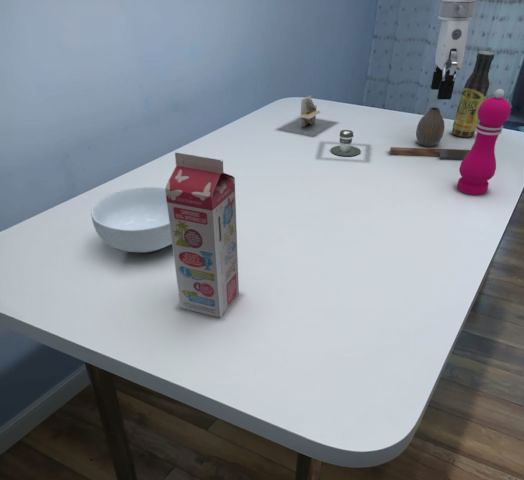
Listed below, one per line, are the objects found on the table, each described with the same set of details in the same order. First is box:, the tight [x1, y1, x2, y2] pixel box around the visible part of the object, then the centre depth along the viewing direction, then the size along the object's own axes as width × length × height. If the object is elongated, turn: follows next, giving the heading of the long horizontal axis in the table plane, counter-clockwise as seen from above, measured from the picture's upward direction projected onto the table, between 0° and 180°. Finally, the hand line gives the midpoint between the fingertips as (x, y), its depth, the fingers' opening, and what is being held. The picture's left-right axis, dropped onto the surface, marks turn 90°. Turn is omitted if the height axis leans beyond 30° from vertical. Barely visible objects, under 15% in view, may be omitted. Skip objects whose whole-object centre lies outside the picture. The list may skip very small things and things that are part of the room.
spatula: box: [389, 146, 471, 161], centre depth 124 cm, size 21×6×1 cm, turn 84°
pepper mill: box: [456, 88, 512, 196], centre depth 102 cm, size 7×7×20 cm
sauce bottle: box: [451, 50, 496, 138], centre depth 130 cm, size 6×6×20 cm
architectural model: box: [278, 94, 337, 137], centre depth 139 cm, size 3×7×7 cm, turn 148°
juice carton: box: [164, 152, 240, 319], centre depth 69 cm, size 7×7×22 cm
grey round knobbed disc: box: [329, 129, 362, 157], centre depth 125 cm, size 12×12×5 cm
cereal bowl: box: [90, 186, 172, 254], centre depth 88 cm, size 17×17×7 cm
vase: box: [415, 106, 446, 148], centre depth 128 cm, size 7×7×9 cm
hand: (440, 94), depth 122 cm, fingers open, 9 cm apart
